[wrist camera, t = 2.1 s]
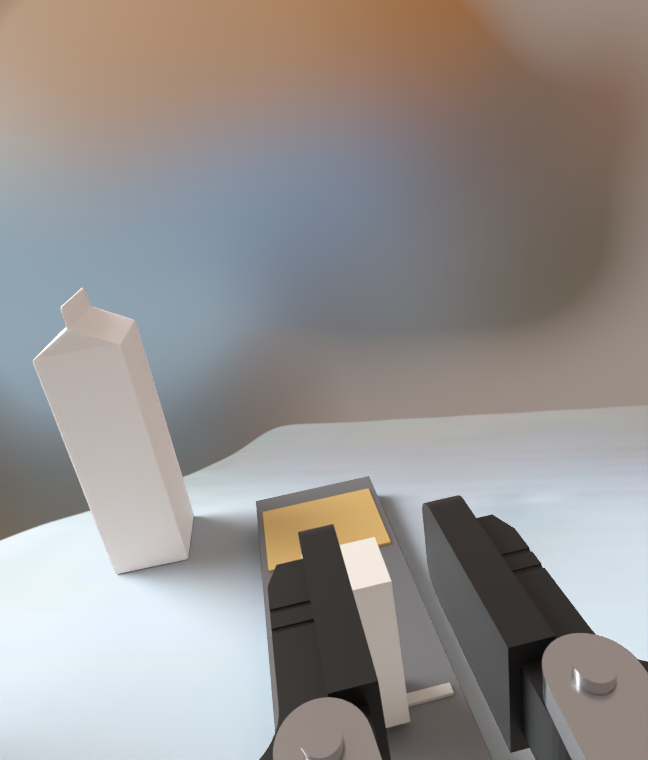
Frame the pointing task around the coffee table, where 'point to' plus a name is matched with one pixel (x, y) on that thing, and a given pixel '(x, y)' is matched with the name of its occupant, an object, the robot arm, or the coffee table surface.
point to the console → (415, 628)
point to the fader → (378, 624)
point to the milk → (117, 436)
